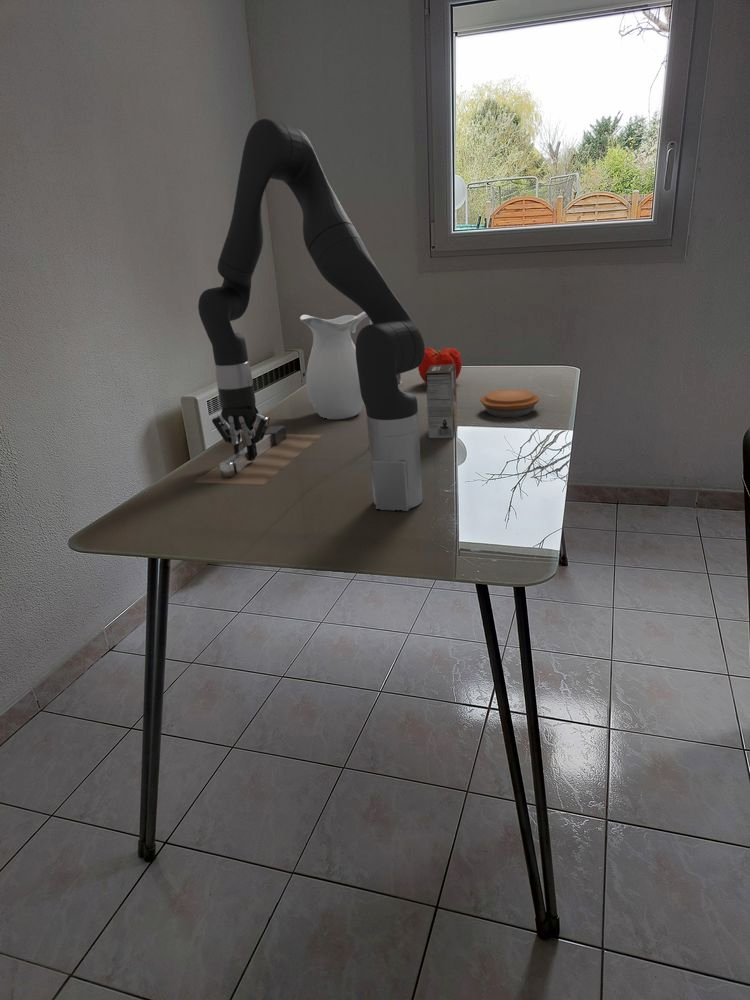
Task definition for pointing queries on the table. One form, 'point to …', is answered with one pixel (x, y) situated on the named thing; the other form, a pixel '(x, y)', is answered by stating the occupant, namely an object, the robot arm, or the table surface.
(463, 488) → the table surface
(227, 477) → the arm
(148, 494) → the table surface
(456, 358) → the tomato
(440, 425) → the coffee box
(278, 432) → the arm
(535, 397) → the pie
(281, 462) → the board
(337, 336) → the pitcher
